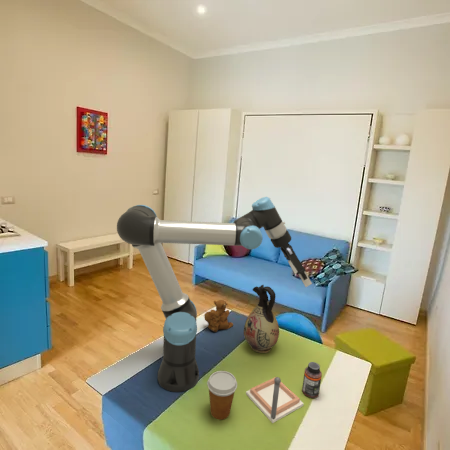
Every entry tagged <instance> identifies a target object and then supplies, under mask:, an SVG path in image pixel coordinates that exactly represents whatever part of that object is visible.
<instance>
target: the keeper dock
mask: <svg viewBox="0 0 450 450" xmlns="http://www.w3.org/2000/svg"><path fill="white" fill-rule="evenodd" d="M245 395H246V396H247V397H248V398H249V399H250V400H251V402H253V404H254V405H255V406H256V407H257V408H258V409H259V410H260V411H261V412H262V414H263V415H264V416H265V417H266V418H267V419H268V420H269V421H270V422H271V424H274V423H276V422H277V421H279V420H281V419H283V418H284V417H286V416H287V415H290V414H291V413H293V412H295V411H297V410H298V409H300V408H302V407H304V404H305V403H304V402H303V401H302V400H301V398H300V397H298V395H297V394H295V393H294V392H293V391H292V390H290V388H288V387H287V386H286V384H284V383H283V382H282V379H281V378H280V377H278V376H275V377H273V378H270V379H268V380H265V381H263V382H262V383H259V384H257V385H256V386H253V387H251V388H250V389H249V390H246V391H245Z"/></svg>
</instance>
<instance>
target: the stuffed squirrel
mask: <svg viewBox="0 0 450 450" xmlns="http://www.w3.org/2000/svg"><path fill="white" fill-rule="evenodd" d="M213 304H214V305H215V309H210V310H209V311H206V312H205V313H204V315H203V317H204V321H205V322H207V325H208V326H207V328H208V329H209V330H211V331H212V332H213V333H214V332H215V333H217V332H218V330H228V329H231V328H232V327H233V326H234V322H232V321H228V318H229V315H230V310H229V309H227V308H230V307H229V305H228V304H227V301H225V300H224V299H219V300H213Z"/></svg>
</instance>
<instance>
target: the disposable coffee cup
mask: <svg viewBox="0 0 450 450" xmlns="http://www.w3.org/2000/svg"><path fill="white" fill-rule="evenodd" d="M207 387H208V393H209V394H208V395H209V397H208V398H209V407H210V415H211V417H212V418H214V419H217V420H221V421H222V420H226V419H227V418H229V416H230V414H231V411H232V406H233V401H234V396H235V391H236V390H237V388H238V382H237V379H236V377H235V376H234V374H233V373H231V372H230V371H226V370H217V371H214V372H213V373H212V374H210V376H209V377H208V379H207Z"/></svg>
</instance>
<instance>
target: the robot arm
mask: <svg viewBox="0 0 450 450" xmlns="http://www.w3.org/2000/svg"><path fill="white" fill-rule="evenodd" d="M251 207H252V210H250V211H249V212H247V213H246V214H244V215H242V216H241V217H238V218H237V219H234V220H233V221H232V222H213V221H212V222H211V221H210V222H209V221H187V220H170V219H169V220H168V219H167V220H166V219H160V218H159V217H158V216H157V213H156V212H155V210H154V209H153V208H152V207H150V206H148V205H146V204H136V205H133V206H131V207H129V208H128V209H127V210H126V211H125V212H123V214H121V215H120V216H119V218H118V219H117V222H116V233H117V235H118V236H119V238H120V239H121V240H122V241H123V242H124V243H127V244H129V245H131V247H132V248H135V249H137V250H138V251H139V253H140V255H141V258H142V260H143V263H144V264H145V267H146V269H147V271H148V273H149V275H150V277H151V280H152V283H153V284H154V286H155V289H156V291H157V293H158V296H159V297H160V299H161V302H162V303H161V306H160V309H161V311H162V314H163V316H164V318H165V321H164V323H163V327H162V331H163V347H162V349H163V351H162V361H161V363H160V365H159V368H158V371H157V382H158V384H159V386H160V387H161V388H163V389H164V390H166V391H169V392H173V393H181V392H186V391H189V390H191V389H192V388H194V387H195V386H196V385H197V383H198V382H199V379H200V370H199V366H198V363H197V360H196V351H197V349H196V347H197V346H196V345H197V332H198V324H197V316H198V313H197V312H198V311H197V307H196V305H195V303H194V302H193V301H192V300H191V299H190V296H189V295H188V293H185V292H183V290H182V287H181V285H180V283H179V281H178V279H177V276H176V274H175V272H174V270H173V267H172V264H171V262H170V260H169V258H168V256H167V253H166V251H165V248H164V246H163V244H177V245H178V244H184V245H186V244H187V245H210V246H211V245H212V246H214V245H215V246H216V245H217V246H240V247H243V248H245V249H246V250H255V249H257V248H259V247H260V246H261V244H262V242H263V238H264V237H263V234H262V231H261V229H262V228H263V230H264V231H265V233H266V235H267V237H268V238H269V239H270V242H271V243H272V245H273V247H274V248H279V249H280V251H281V252H282V253H283V257H284V258H285V259H286V260H287V262H288V264H289V266H290V268H291V270H292V271H293V273H294V275H298V277H299V278H300V280H301V282H302V283H303V285H304V287H305V288H308V287H309V286H310V285H312V284H313V283H312V281H311V279H310V277H309V275H308V274H307V272H306V268H305V267H304V265H302V264H303V263H302V262H301V261H300V260H299V258H298V255H297V254H296V251H294V249H293V246H292V245H291V243H290V242H291V240H292V236H291V234H290V232H289V231H288V230H287V227H286V222H285V221H283V220H282V218H281V215H280V214H279V212H278V210H277V207H276V206H275V204H274V203H273V201H272V200H271V198H270V197H268V196H264V197H261V198H259V199H257V200H256V201H255V202H253V203H252V204H251Z"/></svg>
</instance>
